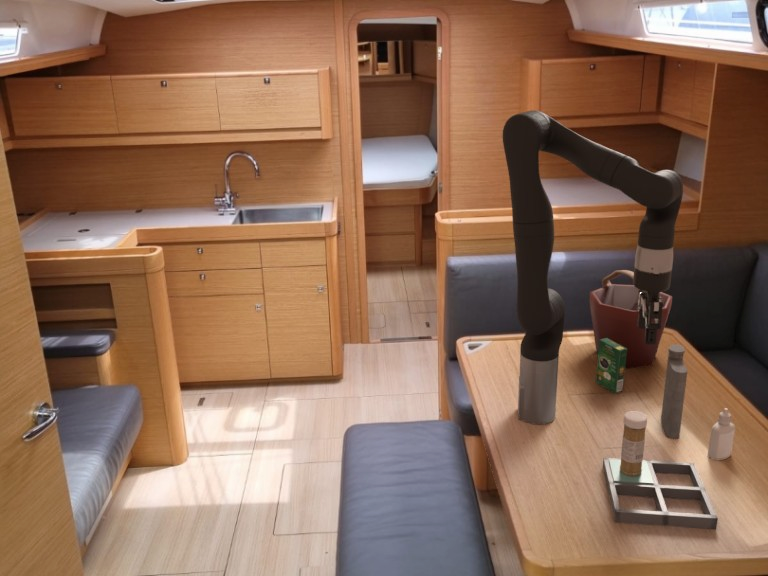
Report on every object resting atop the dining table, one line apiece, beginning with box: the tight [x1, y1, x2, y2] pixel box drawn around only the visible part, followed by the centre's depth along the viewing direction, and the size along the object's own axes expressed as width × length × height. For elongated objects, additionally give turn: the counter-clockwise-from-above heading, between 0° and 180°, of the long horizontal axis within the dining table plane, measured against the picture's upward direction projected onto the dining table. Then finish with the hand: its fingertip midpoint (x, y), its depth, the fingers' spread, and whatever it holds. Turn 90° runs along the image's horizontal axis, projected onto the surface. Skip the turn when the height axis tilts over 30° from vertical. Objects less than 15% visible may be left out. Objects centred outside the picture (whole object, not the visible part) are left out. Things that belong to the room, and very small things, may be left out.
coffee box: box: [595, 338, 627, 395], centre depth 194 cm, size 8×3×13 cm, turn 26°
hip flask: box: [660, 344, 688, 440], centre depth 175 cm, size 16×4×20 cm, turn 162°
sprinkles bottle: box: [620, 410, 648, 476], centre depth 153 cm, size 5×5×13 cm
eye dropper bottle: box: [707, 407, 736, 461], centre depth 162 cm, size 4×6×12 cm
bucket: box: [589, 269, 673, 370], centre depth 210 cm, size 24×22×25 cm
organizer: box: [602, 457, 719, 530], centre depth 151 cm, size 19×19×3 cm
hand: (646, 335), depth 159 cm, fingers open, 8 cm apart
